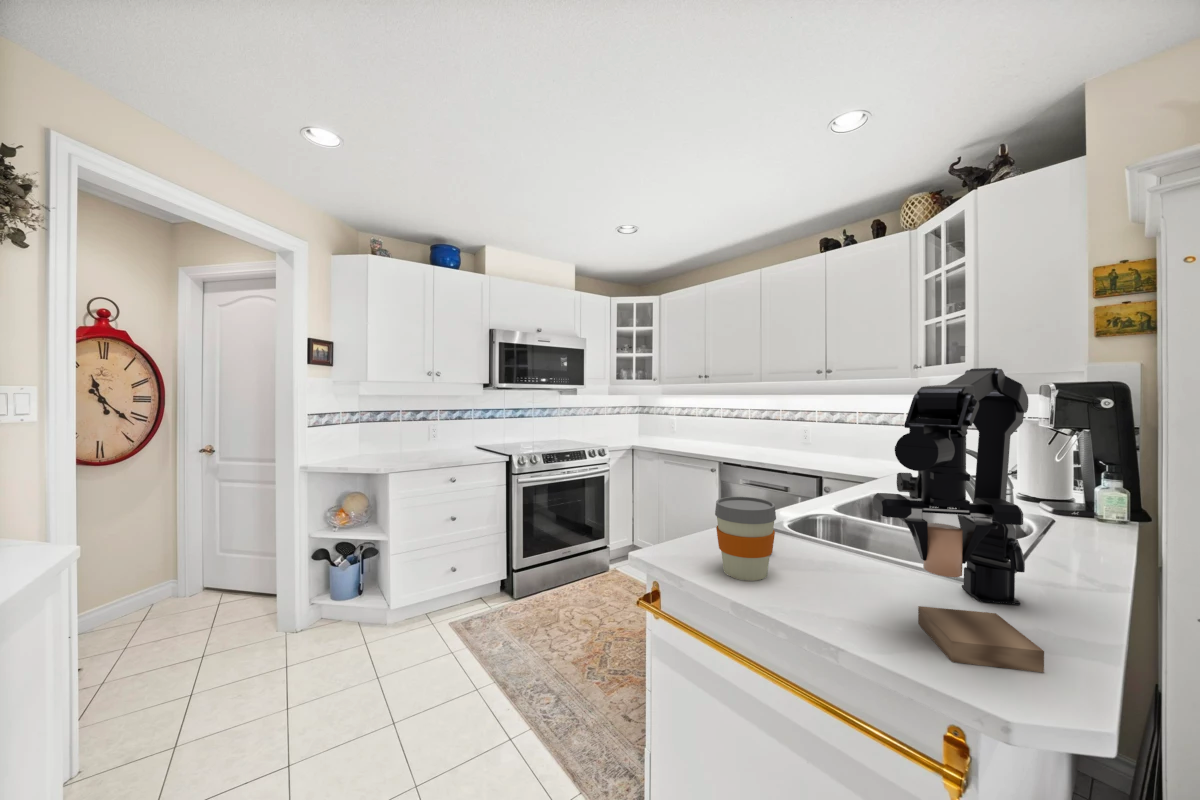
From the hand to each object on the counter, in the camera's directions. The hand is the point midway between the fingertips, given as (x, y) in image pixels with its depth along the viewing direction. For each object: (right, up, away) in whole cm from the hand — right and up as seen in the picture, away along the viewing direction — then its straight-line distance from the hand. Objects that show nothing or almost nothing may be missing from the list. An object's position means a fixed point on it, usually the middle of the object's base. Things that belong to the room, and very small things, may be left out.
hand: (942, 561), depth 73 cm
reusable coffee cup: (-24, -11, +25) cm, 37 cm away
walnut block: (+2, -12, -4) cm, 12 cm away
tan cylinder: (0, -2, 0) cm, 2 cm away
